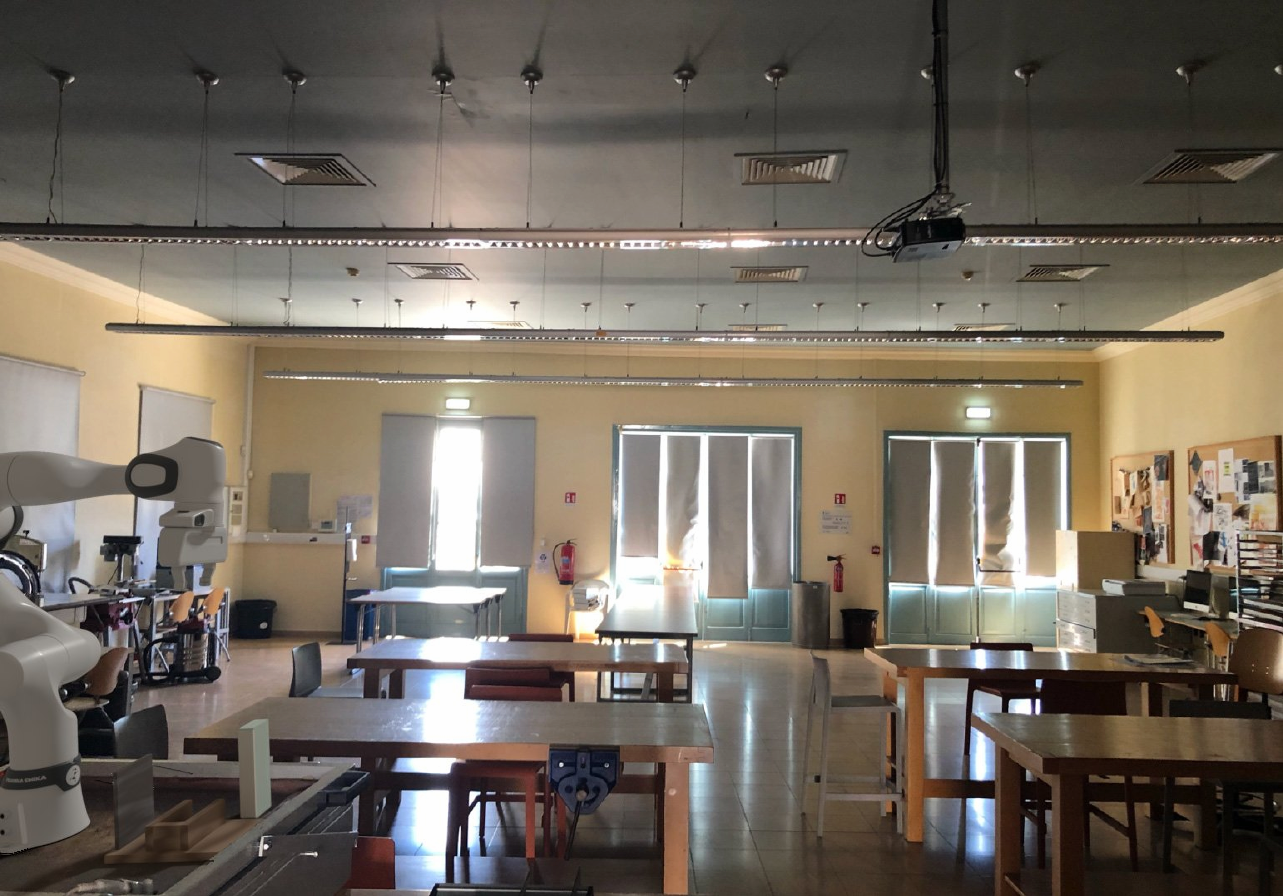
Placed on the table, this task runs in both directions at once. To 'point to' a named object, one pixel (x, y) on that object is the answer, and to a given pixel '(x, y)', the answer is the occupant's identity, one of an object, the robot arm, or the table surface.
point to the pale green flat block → (254, 768)
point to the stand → (165, 823)
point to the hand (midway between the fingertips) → (193, 587)
